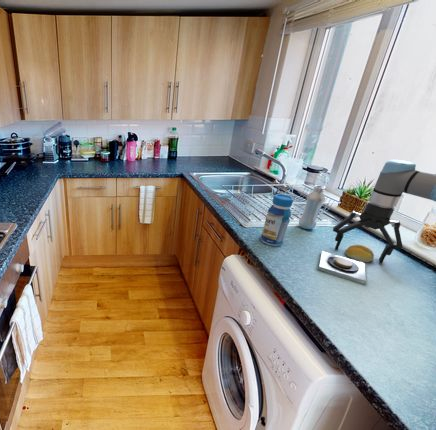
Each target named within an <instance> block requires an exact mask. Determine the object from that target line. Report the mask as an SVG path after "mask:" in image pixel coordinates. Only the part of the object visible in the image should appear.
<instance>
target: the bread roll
mask: <svg viewBox="0 0 436 430" xmlns="http://www.w3.org/2000/svg"><path fill="white" fill-rule="evenodd" d="M344 254H345V255H346V256H347V257H349V259H352V260H355V261H359V262H362V263H369V262H372V261H373V260H374V258H375V255H374V252H373V251H372V249H370V248H369V247H368V246H366V245H362V244H352V245H350V246H348V247H347V248H346V249H345V250H344Z"/></svg>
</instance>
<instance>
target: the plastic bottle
mask: <svg viewBox="0 0 436 430" xmlns="http://www.w3.org/2000/svg"><path fill="white" fill-rule="evenodd" d="M325 189H326V187H325V186H323V185H319V184H317V185H314V187H313V191H311V192H309V194H308V195H307V197H306V202H305V205H304V206H305V207H304V209H303V210H304V211H303V212H302V214H301V216H300V218H299V219H298V226H299V227H300V228H302V229H305V230H313V229H315V227H316V226H317V221H318V217H319V213H320V211H321V208H322V207H323V204H324V203H325V201H326V197H325V194H324V192H325Z"/></svg>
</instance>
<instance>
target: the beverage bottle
mask: <svg viewBox="0 0 436 430" xmlns="http://www.w3.org/2000/svg"><path fill="white" fill-rule="evenodd" d="M272 198H273V199H272V205H271V206H269V208H268V209H267V214H266V215H265V220H264V224H263V229H262V233H261V235H260V240H261V242H263V243H264V244H266V245H269V246H273V247H279V246H281V245H282V244H283V243H284V238H285V235H286V232H287V229H288V226H289V224H290V221H291V219H290V217H292V210H291V207H292V206H293V203H294V198H293V196H291V195H288V194H284V193H276V194H274V196H273V197H272Z"/></svg>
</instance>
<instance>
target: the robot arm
mask: <svg viewBox="0 0 436 430" xmlns="http://www.w3.org/2000/svg"><path fill="white" fill-rule="evenodd" d="M416 166H417V165H416V163H415V162H412V161H408V160H402V159H389V160H387V161H386V162H385V163H384V166H383V167H382V169H381V171H380V172H379V175H378V177H377V180H376V182H375V184H374V187H373V189H372V192H371V193H370V195H369V198H368V201H367V202H366V205H365V206H364V209H363V210H362V212H361V213H359V212H356V210H351V212H350V213H349V215H347V216H346V217H345V218H344V219H342V220H341V221H339V222H338V223H337V224H336V225H335V226H333V227H332V232H334V233H336V235H335V237H334V242H336V243H335V247H334V250H335V251H338V250H339V247H340V245H341V243H342V241H343V238H344V235H345V234H346V233H348V232H350V231H352V230H355V229H357V228H361V227H363V226H364V227H365V228H367V229H373V230H379V231H380V232H381V234H382V235H383V237H384V239H385V240H386V242H387V244H385V246H384V248H383V250H382V252H381V254H380V256H379V258H378V262H379V263H380V264H383V262H384V260H385V258H386V257H387V256H391V255H392V253H393V251H394V250H395V249H403V242H402V235H401V232H400V231H401V230H400V226H401V221H400V220H399V219H396V220H393V219H391V217H392V215H393V213H394V212H395V208H396V207H397V205H398V204H399V201H400V199H401V197H402V195H403V193H404V194H407V195H412V196H415V197H419V198H423V199H426V200H430V201H433V202H435V203H436V173H429V172H423V171H420V170H416ZM356 218H359V219H358V220H357V221H356V222H353V223H351V224H349V225H347V224H348V223H350V222H352V220H353V219H356ZM346 225H347V226H346ZM388 225H390V226H391V227H392V228H393V232H394V237H395V242H394V240H393V239H392V237H391V236H390V234H389V233H388V231H387V229H386V226H388Z"/></svg>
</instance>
